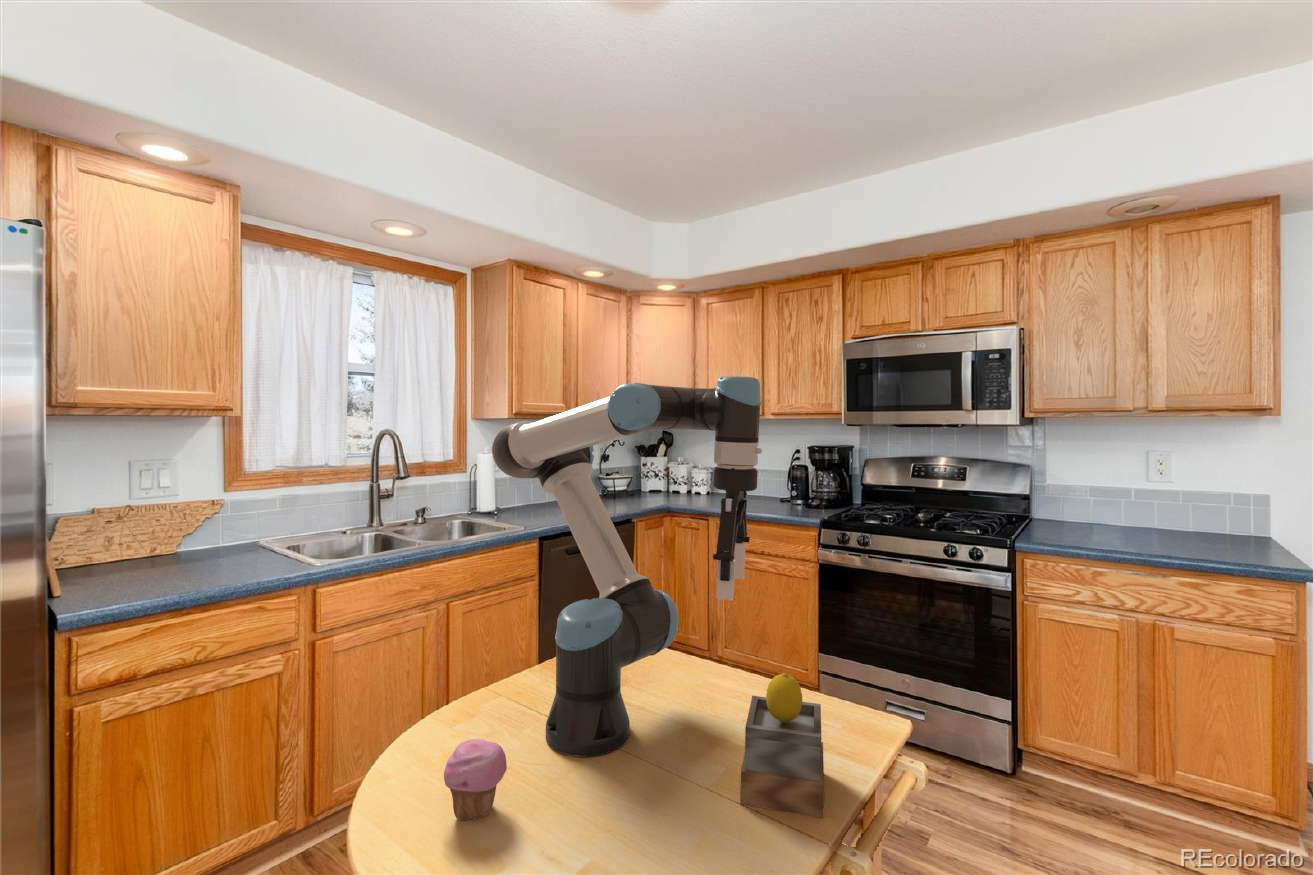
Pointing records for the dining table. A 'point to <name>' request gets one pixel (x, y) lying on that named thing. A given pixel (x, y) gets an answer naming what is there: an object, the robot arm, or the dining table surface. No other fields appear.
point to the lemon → (784, 698)
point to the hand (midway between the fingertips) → (731, 588)
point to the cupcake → (474, 777)
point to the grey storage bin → (783, 761)
